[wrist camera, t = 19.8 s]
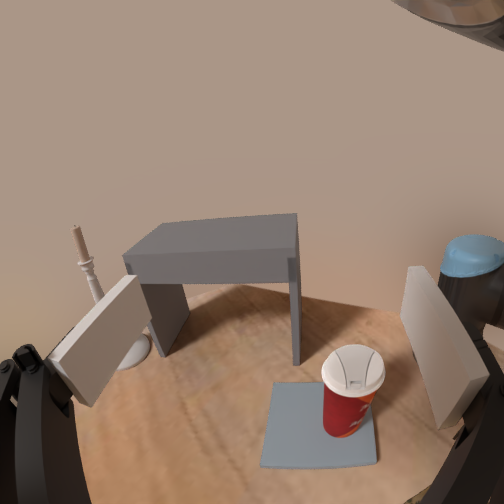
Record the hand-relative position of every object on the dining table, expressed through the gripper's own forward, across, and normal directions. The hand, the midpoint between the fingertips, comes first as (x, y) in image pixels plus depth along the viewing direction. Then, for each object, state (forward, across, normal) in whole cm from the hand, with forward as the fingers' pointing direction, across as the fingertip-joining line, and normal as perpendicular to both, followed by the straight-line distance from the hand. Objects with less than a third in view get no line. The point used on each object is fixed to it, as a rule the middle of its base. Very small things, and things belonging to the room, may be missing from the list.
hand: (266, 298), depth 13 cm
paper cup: (+11, +7, -31) cm, 34 cm away
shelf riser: (+33, -14, -32) cm, 48 cm away
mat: (+12, +4, -32) cm, 34 cm away
